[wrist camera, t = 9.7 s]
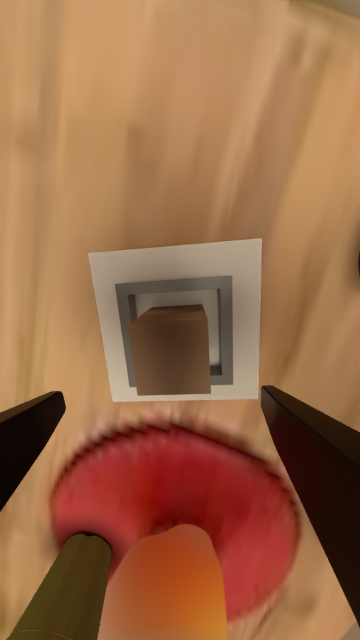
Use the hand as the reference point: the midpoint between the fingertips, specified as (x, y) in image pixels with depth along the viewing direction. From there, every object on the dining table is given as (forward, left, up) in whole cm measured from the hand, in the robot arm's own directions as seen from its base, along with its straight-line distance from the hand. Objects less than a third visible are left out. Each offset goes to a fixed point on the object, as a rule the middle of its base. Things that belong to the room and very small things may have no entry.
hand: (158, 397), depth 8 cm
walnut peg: (0, 0, -11) cm, 11 cm away
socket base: (0, 0, -12) cm, 12 cm away
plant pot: (+16, +34, -12) cm, 39 cm away
